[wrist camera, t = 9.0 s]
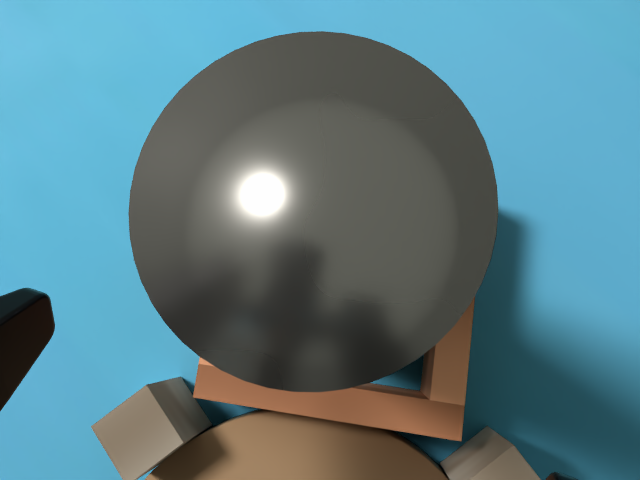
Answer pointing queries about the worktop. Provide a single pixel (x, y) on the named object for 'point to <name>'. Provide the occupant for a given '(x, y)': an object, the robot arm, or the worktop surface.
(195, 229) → the pin
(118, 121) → the worktop surface
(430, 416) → the sprocket
